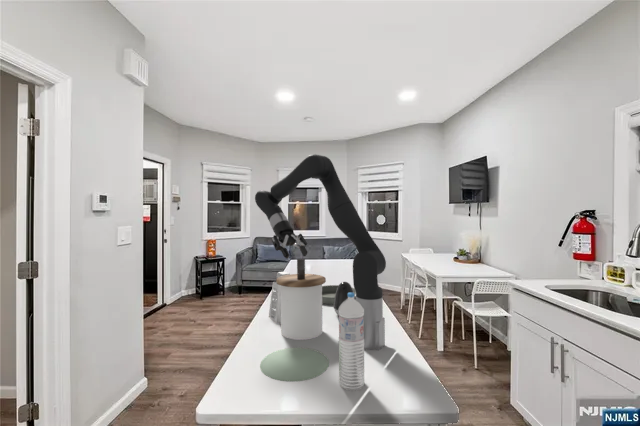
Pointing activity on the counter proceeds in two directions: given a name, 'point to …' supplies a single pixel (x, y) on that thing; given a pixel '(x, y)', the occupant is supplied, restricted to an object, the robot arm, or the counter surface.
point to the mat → (294, 364)
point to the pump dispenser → (342, 295)
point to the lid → (301, 278)
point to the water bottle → (351, 344)
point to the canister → (301, 312)
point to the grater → (276, 303)
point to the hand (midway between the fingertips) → (297, 256)
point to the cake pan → (330, 293)
